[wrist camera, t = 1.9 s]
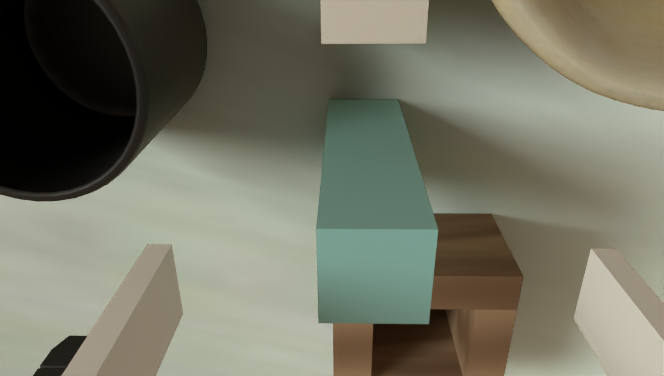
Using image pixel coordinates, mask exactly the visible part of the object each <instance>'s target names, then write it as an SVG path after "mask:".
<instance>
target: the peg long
mask: <svg viewBox="0 0 664 376" xmlns="http://www.w3.org/2000/svg"><path fill="white" fill-rule="evenodd" d="M316 236H317V277H318V318H319V323H364V324H429V317H430V307H431V297H432V287H433V277H434V267H435V257H436V247H437V237H438V227H437V224H436V221H435V217H434V214H433V211H432V208H431V205H430V201H429V198H428V195H427V192H426V188H425V185H424V182H423V179H422V175H421V172H420V169H419V166H418V163H417V159H416V156H415V153H414V150H413V146H412V143H411V140H410V137H409V133H408V130H407V127H406V124H405V120H404V117H403V114H402V111H401V108H400V104H399V101H398V99H329V103H328V113H327V123H326V134H325V144H324V155H323V165H322V175H321V186H320V196H319V206H318V217H317V227H316Z"/></svg>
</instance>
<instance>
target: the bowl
mask: <svg viewBox="0 0 664 376" xmlns="http://www.w3.org/2000/svg"><path fill="white" fill-rule="evenodd" d="M492 2H493V4H494V6H495V7H496V9H497V10H498V12H499V13H500V15H501V16H502V17H503V19H504V20H505V22H506V23H507V24H508V25H509V27H510V28H511V29H512V30H513V31H514V32H515V33H516V35H517V36H518V37H519V38H520V39H521V40H522V41H523V42H524V43H525V44H526V45H527V46H528V47H529V48H530V49H531V50H532V51H533V52H534V53H535V54H536V55H537V56H538V57H539V58H541V59H542V60H543V61H544V62H546V63H547V64H548V65H549V66H550V67H551V68H553V69H554V70H556V71H557V72H558V73H560V74H561V75H563V76H565V77H566V78H568V79H569V80H571V81H573V82H574V83H576V84H578V85H580V86H582V87H584V88H586V89H588V90H590V91H592V92H594V93H597V94H599V95H602V96H605V97H608V98H611V99H614V100H617V101H620V102H623V103H628V104H631V105H634V106H638V107H645V108H649V109H655V110H662V111H664V0H492Z"/></svg>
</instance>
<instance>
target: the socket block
mask: <svg viewBox="0 0 664 376" xmlns="http://www.w3.org/2000/svg"><path fill="white" fill-rule="evenodd" d="M434 217H435V221H436V224H437V227H438V237H437V247H436V257H435V267H434V277H433V287H432V297H431V307H430V317H429V324H364V323H333V355H334V376H504V373H505V368H506V363H507V358H508V353H509V347H510V342H511V337H512V332H513V327H514V322H515V317H516V312H517V306H518V301H519V296H520V291H521V286H522V281H523V275H522V273H521V271H520V269H519V267H518V265H517V263H516V261H515V259H514V257H513V256H512V254H511V252H510V250H509V248H508V246H507V244H506V242H505V240H504V238H503V236H502V234H501V232H500V230H499V228H498V226H497V224H496V222H495V220H494V218H493V216H492V215H491V214H434Z"/></svg>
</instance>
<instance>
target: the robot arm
mask: <svg viewBox="0 0 664 376" xmlns="http://www.w3.org/2000/svg"><path fill="white" fill-rule="evenodd" d="M182 315H183V310H182V304H181V298H180V292H179V286H178V280H177V274H176V268H175V262H174V256H173V250H172V245H171V244H147V246H146V247H145V249H144V250H143V252H142V254H141V255H140V257H139V258H138V260H137V261H136V263H135V264H134V266H133V267H132V269H131V270H130V272H129V273H128V275H127V276H126V278H125V279H124V281H123V283H122V284H121V286H120V287H119V289H118V290H117V292H116V293H115V295H114V296H113V298H112V299H111V301H110V302H109V304H108V305H107V307H106V308H105V310H104V312H103V313H102V315H101V316H100V318H99V319H98V321H97V322H96V324H95V325H94V327H93V328H92V330H91V331H90V333H89V334H88V336H68V337H67V338H66V339H65V340H63V341H62V342H61V343H60V344H58V345H57V346H56V347H54V348H53V349H52V350H51V351H50V353H49V354H48V356H47V357H46V358H45V360H44V361H43V362H42V364H41V365H40V369H37V371H36V372H35V374H34V375H33V376H156V374H157V372H158V369H159V367H160V365H161V362H162V360H163V358H164V356H165V353H166V351H167V349H168V347H169V344H170V342H171V340H172V337H173V335H174V333H175V331H176V328H177V326H178V324H179V322H180V319H181V317H182ZM574 320H575V322H576V324H577V325H578V327H579V329H580V330H581V332H582V334H583V335H584V337H585V339H586V340H587V342H588V344H589V345H590V347H591V349H592V351H593V352H594V354H595V356H596V357H597V359H598V361H599V362H600V364H601V366H602V367H603V369H604V371H605V372H606V374H607V376H664V303H663V302H662V301H661V300H660V299H659V297H658V296H657V295H656V294H655V293H654V292H653V291H652V289H651V288H650V287H649V286H648V285H647V284H646V282H645V281H644V280H643V279H642V278H641V277H640V275H639V274H638V273H637V272H636V271H635V270H634V269H633V267H632V266H631V265H630V264H629V263H628V262H627V260H626V259H625V258H624V257H623V256H622V255H621V254H620V252H619V251H618V250H617V249H616V248H591V250H590V254H589V258H588V262H587V266H586V270H585V274H584V278H583V282H582V286H581V290H580V294H579V298H578V302H577V307H576V311H575V315H574Z"/></svg>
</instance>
